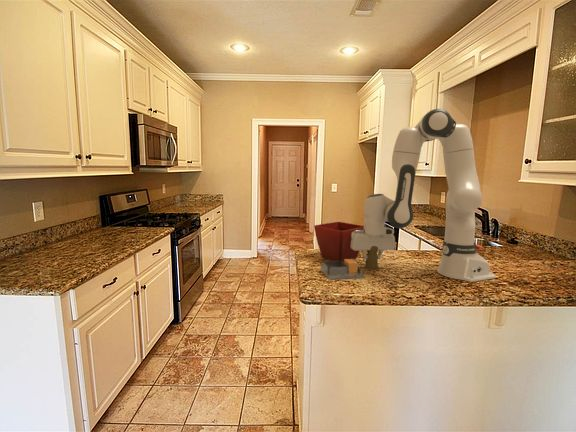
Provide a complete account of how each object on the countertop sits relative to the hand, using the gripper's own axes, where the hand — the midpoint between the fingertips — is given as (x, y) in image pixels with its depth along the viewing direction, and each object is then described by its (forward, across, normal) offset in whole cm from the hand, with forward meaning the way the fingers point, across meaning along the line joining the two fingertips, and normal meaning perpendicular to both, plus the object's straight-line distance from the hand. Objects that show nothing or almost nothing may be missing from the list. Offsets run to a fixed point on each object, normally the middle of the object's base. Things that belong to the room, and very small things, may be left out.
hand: (371, 259), depth 137 cm
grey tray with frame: (+4, -16, -6) cm, 18 cm away
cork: (+4, 0, 0) cm, 4 cm away
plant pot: (+4, -10, +17) cm, 20 cm away
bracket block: (+3, -12, -6) cm, 14 cm away
